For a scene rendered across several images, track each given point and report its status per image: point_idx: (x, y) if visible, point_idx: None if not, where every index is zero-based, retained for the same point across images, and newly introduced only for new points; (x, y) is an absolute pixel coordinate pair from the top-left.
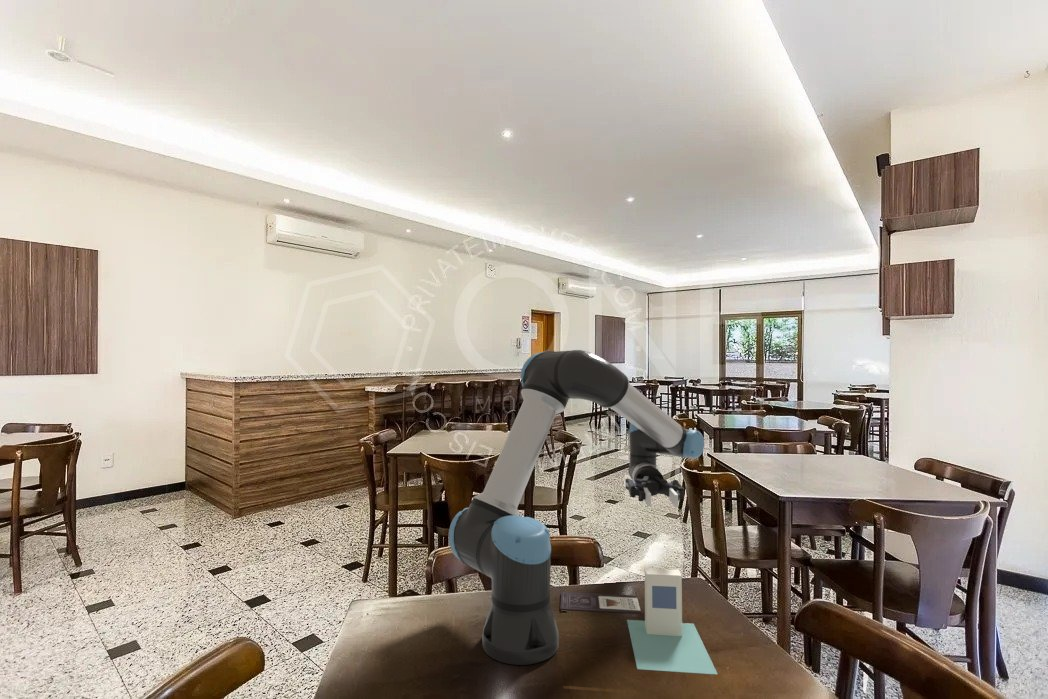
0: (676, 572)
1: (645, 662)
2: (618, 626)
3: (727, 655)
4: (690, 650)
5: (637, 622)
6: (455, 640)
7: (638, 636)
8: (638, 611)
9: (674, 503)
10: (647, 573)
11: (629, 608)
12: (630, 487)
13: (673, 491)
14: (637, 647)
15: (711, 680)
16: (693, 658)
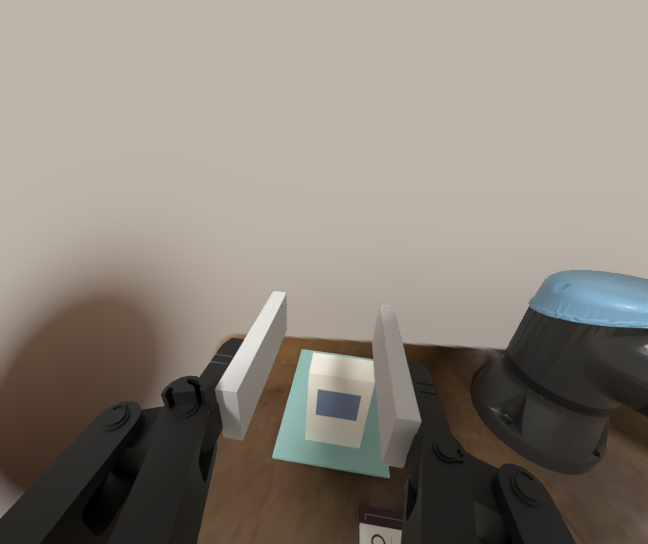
0: (317, 363)
1: None
2: None
3: (270, 379)
4: None
5: (370, 465)
6: (617, 428)
7: (372, 418)
8: (365, 518)
9: (284, 325)
10: (371, 362)
11: (384, 536)
12: (548, 505)
13: (259, 330)
14: (375, 394)
15: (310, 347)
16: None
